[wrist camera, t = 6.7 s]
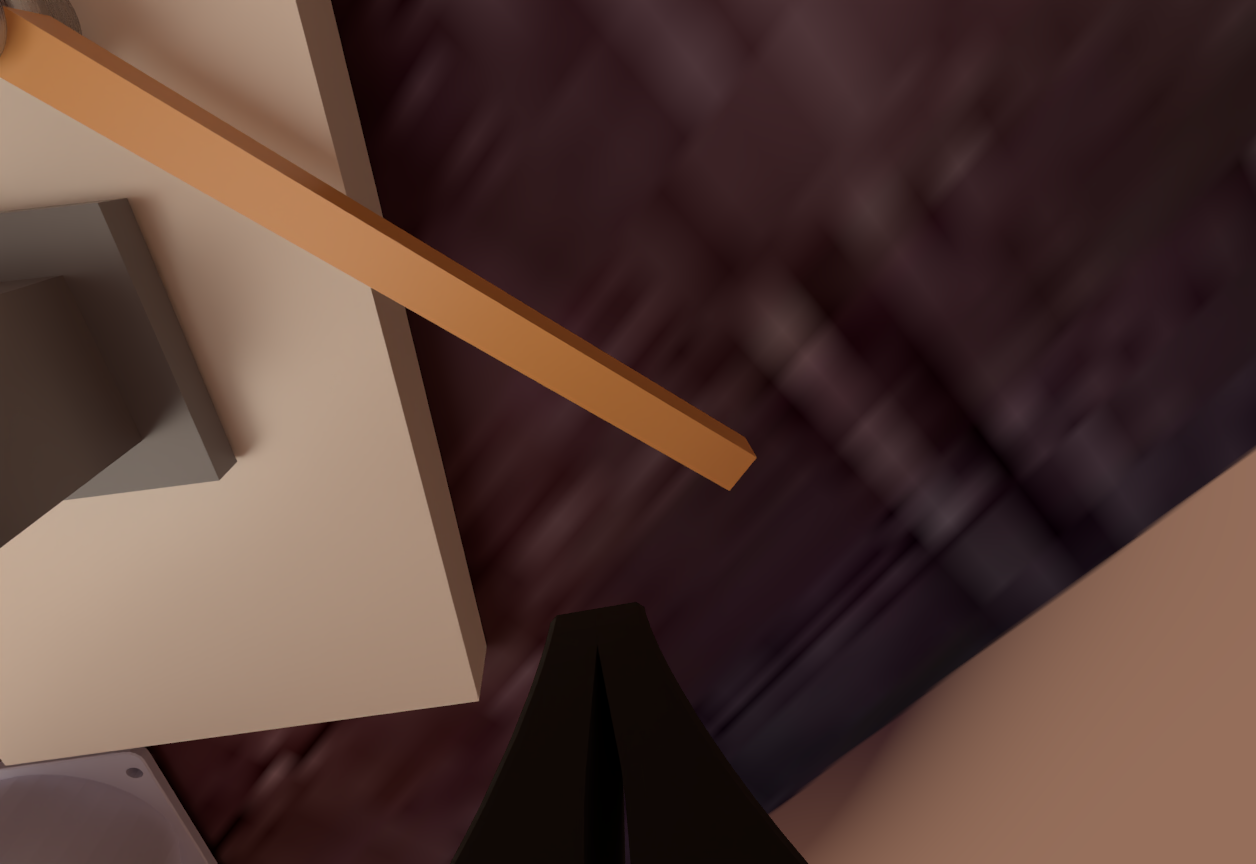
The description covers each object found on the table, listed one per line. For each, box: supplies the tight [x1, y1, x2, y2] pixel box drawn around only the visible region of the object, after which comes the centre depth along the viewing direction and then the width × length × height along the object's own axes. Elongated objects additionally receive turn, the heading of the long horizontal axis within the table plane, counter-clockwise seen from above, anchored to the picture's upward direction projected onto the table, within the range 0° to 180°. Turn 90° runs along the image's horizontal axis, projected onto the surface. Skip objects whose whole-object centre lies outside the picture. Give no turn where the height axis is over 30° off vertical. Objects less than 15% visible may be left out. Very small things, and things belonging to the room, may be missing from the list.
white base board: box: [0, 0, 487, 766], centre depth 16 cm, size 20×14×2 cm
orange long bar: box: [0, 0, 757, 491], centre depth 12 cm, size 16×2×2 cm, turn 56°
